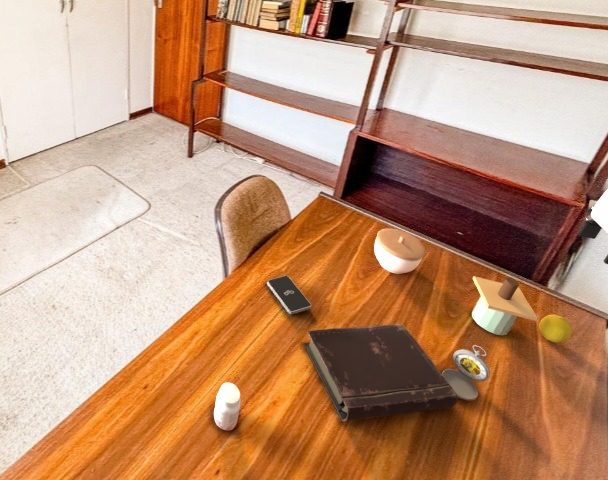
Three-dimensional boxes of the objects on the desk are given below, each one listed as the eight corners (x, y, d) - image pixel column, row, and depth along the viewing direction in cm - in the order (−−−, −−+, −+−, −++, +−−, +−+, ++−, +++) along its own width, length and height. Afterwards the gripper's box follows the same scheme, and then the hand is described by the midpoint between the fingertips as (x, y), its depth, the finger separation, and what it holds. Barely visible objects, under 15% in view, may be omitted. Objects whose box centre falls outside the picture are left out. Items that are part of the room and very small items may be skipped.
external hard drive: (286, 280, 114) (287, 274, 113) (311, 311, 105) (312, 306, 104) (265, 285, 112) (266, 280, 111) (289, 318, 103) (291, 312, 102)
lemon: (562, 339, 100) (577, 317, 97) (562, 354, 96) (578, 332, 93) (533, 325, 104) (547, 304, 100) (532, 339, 100) (547, 317, 96)
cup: (501, 314, 106) (514, 291, 103) (514, 339, 100) (529, 316, 96) (467, 305, 109) (479, 283, 105) (477, 329, 102) (491, 306, 98)
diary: (453, 412, 83) (461, 397, 81) (343, 426, 80) (350, 411, 78) (393, 332, 100) (399, 318, 98) (301, 341, 97) (305, 327, 95)
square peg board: (517, 289, 103) (527, 272, 101) (536, 321, 95) (547, 303, 92) (472, 278, 106) (481, 262, 104) (487, 308, 98) (497, 290, 95)
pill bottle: (237, 408, 82) (242, 383, 79) (236, 434, 78) (242, 408, 74) (214, 402, 83) (218, 377, 80) (212, 427, 79) (217, 402, 75)
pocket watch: (445, 395, 87) (462, 365, 82) (434, 360, 94) (450, 331, 90) (489, 409, 84) (509, 380, 80) (475, 373, 91) (492, 344, 87)
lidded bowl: (366, 268, 120) (376, 239, 115) (372, 244, 129) (382, 217, 125) (414, 288, 113) (426, 259, 109) (416, 261, 123) (428, 234, 118)
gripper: (696, 217, 77) (646, 281, 84) (633, 173, 92) (595, 231, 99) (646, 208, 79) (602, 271, 86) (592, 166, 94) (558, 223, 101)
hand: (598, 250), depth 92 cm, fingers open, 9 cm apart
